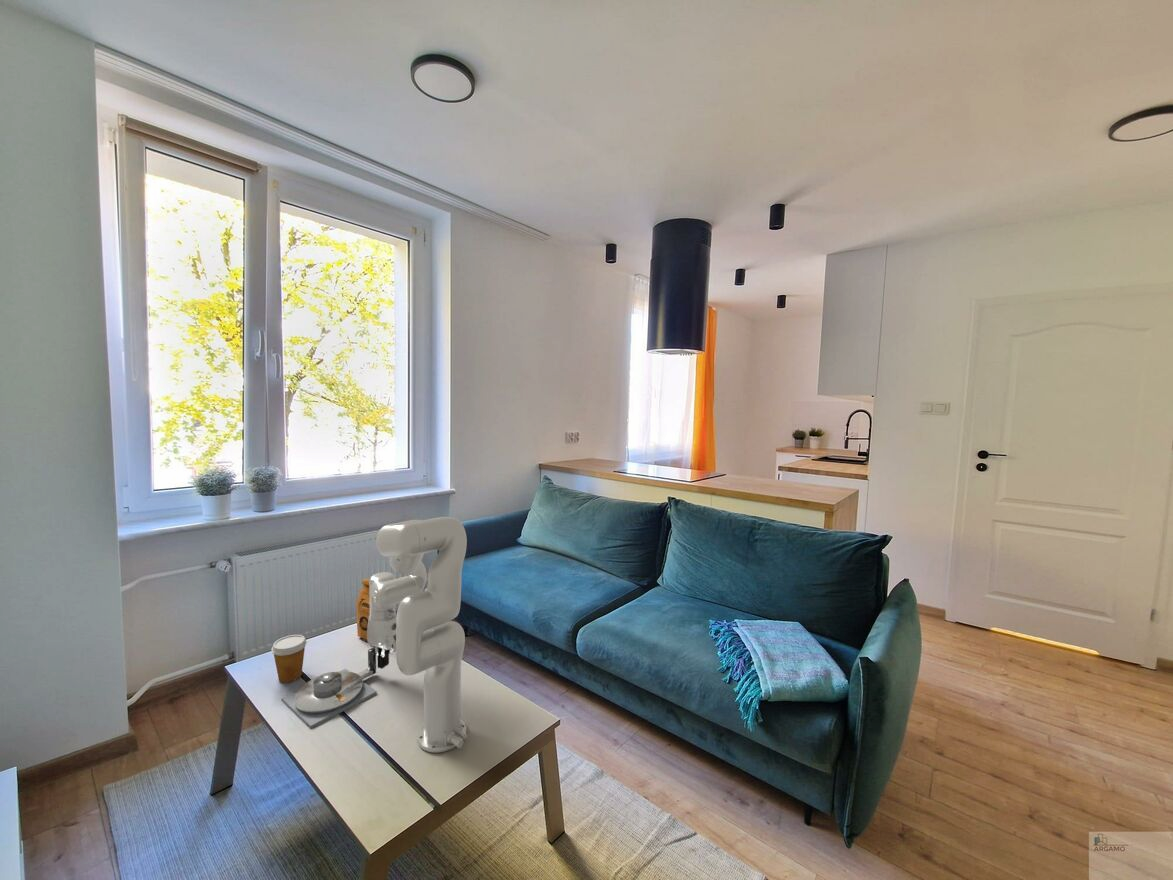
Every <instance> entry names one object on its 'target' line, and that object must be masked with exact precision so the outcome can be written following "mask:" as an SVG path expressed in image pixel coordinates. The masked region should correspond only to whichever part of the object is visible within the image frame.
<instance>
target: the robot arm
mask: <svg viewBox="0 0 1173 880" xmlns="http://www.w3.org/2000/svg"><path fill="white" fill-rule="evenodd" d="M375 540H376V541H375V542H376V543H375V544H376V548H377V551H378V552H379V554H380V556H381V555H382V556H383V557H386V558H389V564H390V567H391V568H392V570H393V571H395V572H396V573H399V574H401V575H406V576H402V577H401V576H400V577H398V578H396V577H395V575H394V574H393V573H392V572H390V571H389V572H388V571H383V572H378V573H374V574H372V576H370V577H369V580H370V581H369V594H370V616H369V620H368V627H367V640H366V641H367V643H368V645H369V646H370V648H374V649H375V652H376V661H377V668H378V669H381V670H382V669H384V668H385V667H387V666H388V665H389V663H390V654H394V653H395V658H396V665H397V667H398V669H399V671H400V672H401V673H402V674H403V675H405V676H414V675H418V674H419V673H422V672H424V671H425V672H424V677H423V725H422V727H421V728H420V730H419V732H418V735H417V743H418V745H419V747H420V748H421V749H422V750H424V751H426V752H429V753H433V754H434V753H444V752H447V751H450V750H452V749H454V748H457V749H461V748H462V747H463V746H464V743H465V742H464V740H466V739H467V738H468V733H467V726H466V723H465V722H464V721H463V720H462V719H461V718H462V717H461V710H462V709H461V708H462V707H461V702H462V701H461V700H462V699H461V698H462V697H461V695H462V693H461V691H462V689H461V687H462V660H463V654H464V650H465V644H466V636H465V635H466V634H465V631H464V628H463V627H462V625H461V624H460V623H458V622H457V621H454V619H455V618H457V617H458V615H459V613H460V609H461V601H462V598H461V597H462V596H461V595H462V578H463V577H462V574H463V573H462V571H463V565H464V561H465V557H466V553H467V544H468V543H467V542H468V540H467V533H466V529H465V527H464V525H463V523H462V522H461V521H460V520H459V518H456V517H452V516H439V517H433V518H429V519H424V520H423V519H409V520H405V521H404V520H403V521H400V522H396V523H395V522H394V523H389V524H386V525H383V526H382V527H381V528H380V529H379V531H378V532H377V536H376V539H375ZM435 551H439V552H438V553H437V555H436V556H435V557H434V558H433V561H432V562H431V565H430V566H429V568H428V572H427V569H426V566H425V564H424V562H423V561H422V560H423V557H424V556H425V555H424V554H427V553H431V552H435ZM426 583H427V585H426ZM425 586H426V588H425ZM424 588H425V589H424ZM397 605H398V607H397V611H396V606H397ZM452 620H453V621H452Z"/></svg>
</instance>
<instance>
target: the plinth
mask: <svg viewBox="0 0 1173 880" xmlns="http://www.w3.org/2000/svg"><path fill="white" fill-rule="evenodd" d="M340 671H347V672H350V671H349V670H348V669H347V668H344V669H342V670H340ZM340 671H338V672H340ZM362 683H363V687H362V690H361V692H360V694H359V695H358V696H357V697H356V698H355V699H354V700H353V701H351V702H350V703H348V704H347V705H345V706H343V707H341V708H338V709H336V710H333V711H329V712H325V713H317V714H310V713H304V712H301V711H299V710H298V709H297V708H296V707H295V694H296V693H297V691H298V690H296V691H294V692H291V693H289V694H287V695H284V696H282V697H281V698H280V699H281V701H282V702H283V704H284V705H286V707H288V709H290V710H291V712H293V713H294V714H295V715H296V716H297V717H298V718H299V719H300V720H301V721H302V722H303V723H304V724H305V725H307V727H308V728H310V729H313V728H314V727H316V726H318V725H320V724H322V723H324V722H326V721H327V720H330V719H332V718H334V717H335V716H337V715H339V714H340V713H343V712H346V710H349V709H350V708H352V707H354V706H357V705H358V704H360V703H362V702H364V701H365V700H368V699H370V698H371V697H373V696H375V695H377V690H375V688H372V687H371V686H369V684H367V683H365V682H364V681H363V680H362Z"/></svg>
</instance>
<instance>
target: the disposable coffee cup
mask: <svg viewBox="0 0 1173 880" xmlns="http://www.w3.org/2000/svg"><path fill="white" fill-rule="evenodd" d="M272 645H273V646H272V647H271V652H272V654H273V657H274V663H275V667H276V673H277V678H278V681H279V682H280V683H283V682H285V683H291V682H294V681H296V680H298V679H299V678H300V677H302V675H303V674H302V673H303V664H304V657H305V647H306V645H307V638H305V636H304V635H301V634H290V635H287V636H284V637H281V638H279V639H277V640H276V641H275V642H274V643H273V644H272Z"/></svg>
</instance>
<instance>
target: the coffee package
mask: <svg viewBox="0 0 1173 880" xmlns="http://www.w3.org/2000/svg"><path fill="white" fill-rule="evenodd" d="M369 581H370V578H364V579H363V580H362V581H361V584H362V587H361V589H360V592H359V595H358V597H357V600H356V627H357V628H356V629H357V634H356V635H357V637H360V638H361V639H364V640H365V641H367V627H368V620H369V616H370V594H369Z"/></svg>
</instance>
